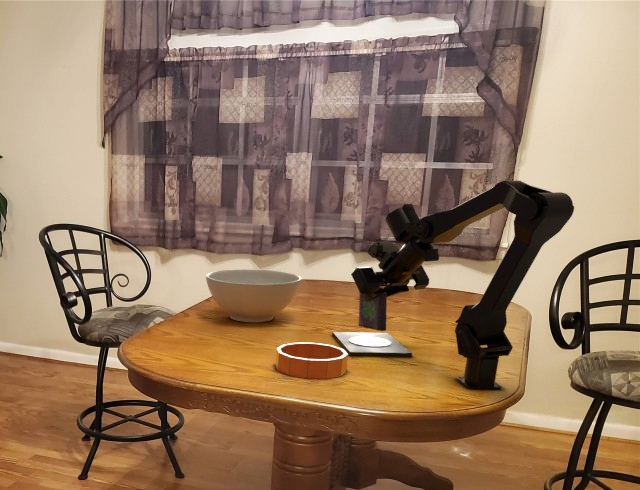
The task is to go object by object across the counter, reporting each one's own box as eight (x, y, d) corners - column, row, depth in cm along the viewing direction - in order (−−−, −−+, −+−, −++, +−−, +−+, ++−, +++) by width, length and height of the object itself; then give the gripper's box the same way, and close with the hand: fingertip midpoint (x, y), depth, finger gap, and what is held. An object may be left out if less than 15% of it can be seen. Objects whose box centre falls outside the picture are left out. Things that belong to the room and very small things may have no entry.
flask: (356, 325, 171) (357, 282, 168) (366, 324, 172) (367, 281, 169) (379, 331, 162) (381, 286, 160) (390, 330, 163) (392, 285, 160)
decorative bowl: (234, 304, 217) (236, 266, 213) (314, 316, 200) (317, 275, 197) (186, 319, 197) (187, 277, 193) (270, 333, 181) (273, 287, 177)
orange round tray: (352, 379, 142) (354, 360, 141) (281, 378, 143) (282, 359, 142) (337, 360, 156) (338, 343, 155) (272, 358, 157) (273, 342, 156)
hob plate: (411, 357, 158) (412, 352, 158) (349, 356, 159) (350, 351, 159) (387, 336, 177) (387, 332, 177) (332, 335, 178) (332, 331, 178)
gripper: (426, 229, 159) (388, 270, 172) (360, 231, 153) (326, 274, 166) (448, 267, 155) (407, 307, 168) (381, 271, 148) (344, 312, 161)
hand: (371, 299), depth 166 cm, fingers closed on flask, 3 cm apart
